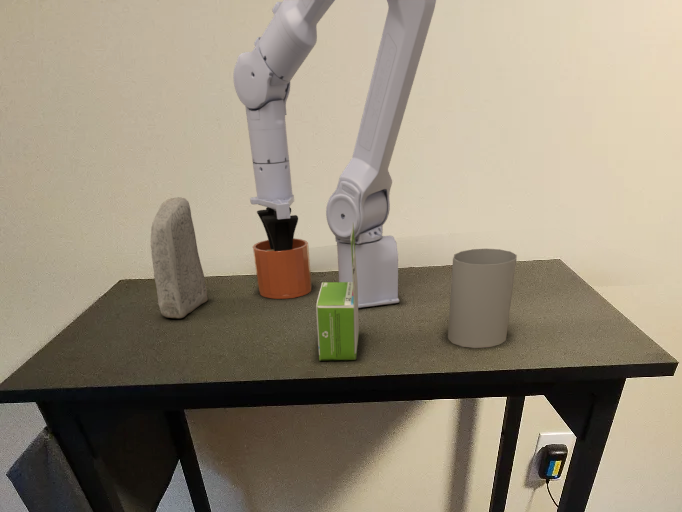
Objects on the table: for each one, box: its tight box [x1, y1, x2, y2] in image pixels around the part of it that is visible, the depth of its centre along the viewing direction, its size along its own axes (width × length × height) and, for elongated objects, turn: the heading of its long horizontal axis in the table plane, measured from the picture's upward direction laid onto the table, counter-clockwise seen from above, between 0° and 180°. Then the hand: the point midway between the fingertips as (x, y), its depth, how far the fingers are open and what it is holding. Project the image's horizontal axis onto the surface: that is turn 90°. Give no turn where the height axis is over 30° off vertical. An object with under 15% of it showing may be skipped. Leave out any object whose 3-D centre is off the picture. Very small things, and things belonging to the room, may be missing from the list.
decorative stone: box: [150, 196, 209, 319], centre depth 94 cm, size 11×6×15 cm, turn 168°
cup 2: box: [447, 248, 518, 349], centre depth 81 cm, size 8×8×10 cm
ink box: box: [315, 224, 360, 362], centre depth 79 cm, size 10×5×14 cm, turn 178°
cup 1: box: [252, 237, 313, 300], centre depth 102 cm, size 9×9×7 cm
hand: (282, 262), depth 101 cm, fingers closed on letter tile, 4 cm apart
